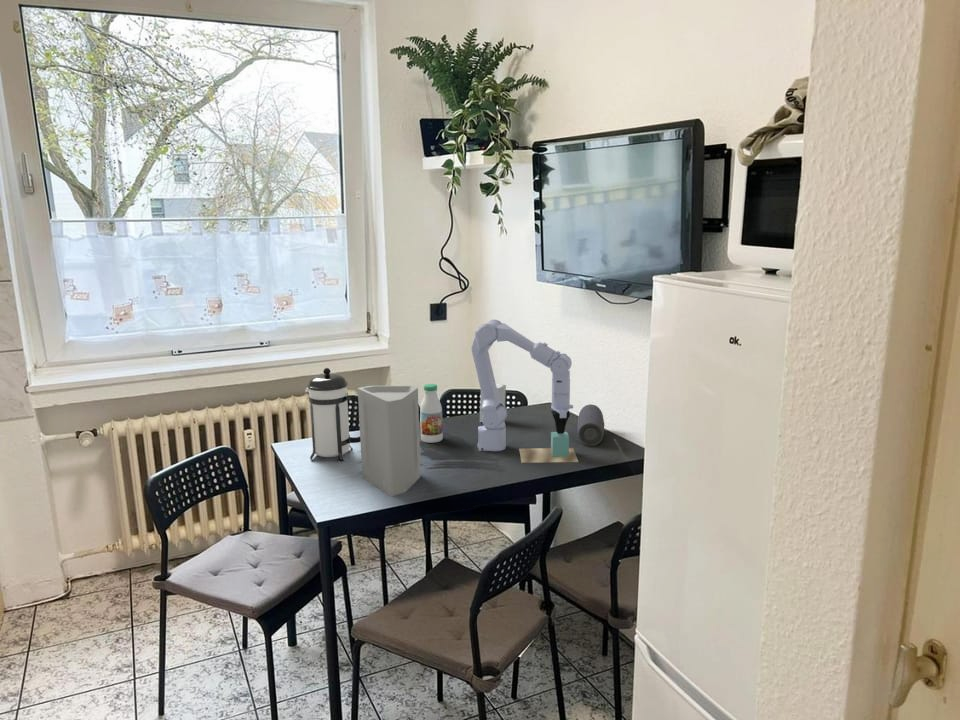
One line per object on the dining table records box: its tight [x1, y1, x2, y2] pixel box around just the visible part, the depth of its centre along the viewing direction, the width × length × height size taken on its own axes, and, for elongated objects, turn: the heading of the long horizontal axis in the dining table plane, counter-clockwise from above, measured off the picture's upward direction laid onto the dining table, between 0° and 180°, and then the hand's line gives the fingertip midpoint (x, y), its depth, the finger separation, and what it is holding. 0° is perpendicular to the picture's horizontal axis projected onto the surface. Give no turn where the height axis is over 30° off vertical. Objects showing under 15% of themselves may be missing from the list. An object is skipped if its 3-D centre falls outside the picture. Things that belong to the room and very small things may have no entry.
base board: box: [518, 447, 579, 464], centre depth 228 cm, size 18×13×2 cm
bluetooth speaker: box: [576, 403, 605, 447], centre depth 247 cm, size 23×9×10 cm, turn 171°
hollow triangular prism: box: [357, 385, 422, 497], centre depth 209 cm, size 19×15×28 cm
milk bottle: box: [419, 383, 444, 444], centre depth 246 cm, size 8×8×20 cm
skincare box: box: [479, 382, 507, 424], centre depth 267 cm, size 8×6×15 cm
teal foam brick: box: [550, 431, 570, 457], centre depth 228 cm, size 5×5×7 cm
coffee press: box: [304, 367, 360, 463], centre depth 231 cm, size 17×16×30 cm
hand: (560, 433), depth 227 cm, fingers closed
